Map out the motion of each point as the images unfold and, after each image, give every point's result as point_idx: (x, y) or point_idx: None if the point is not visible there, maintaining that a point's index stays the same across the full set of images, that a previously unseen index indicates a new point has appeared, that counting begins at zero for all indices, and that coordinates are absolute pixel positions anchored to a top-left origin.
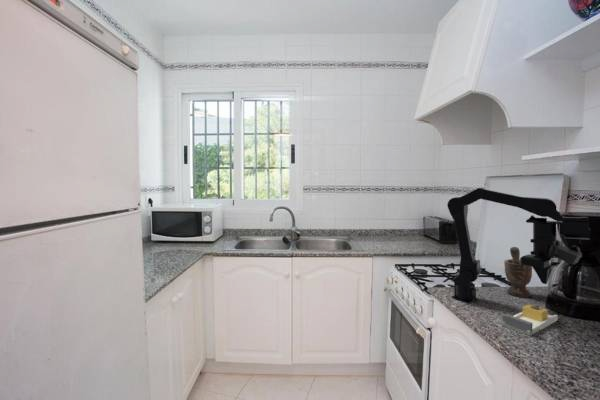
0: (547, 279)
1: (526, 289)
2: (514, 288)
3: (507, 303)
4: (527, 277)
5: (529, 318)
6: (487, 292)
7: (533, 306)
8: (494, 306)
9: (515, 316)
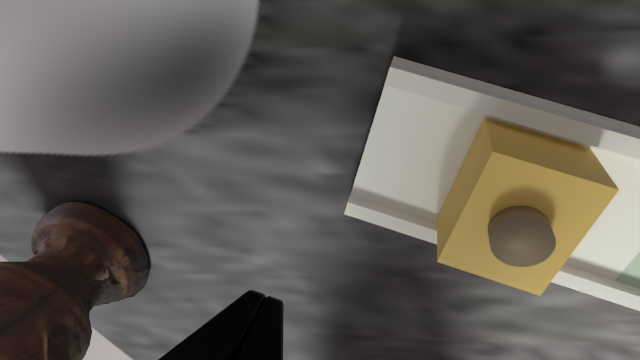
0: (251, 346)
1: (58, 241)
2: (105, 292)
3: (294, 290)
4: (4, 314)
5: None
6: None
7: (550, 253)
8: (395, 339)
9: (607, 289)
